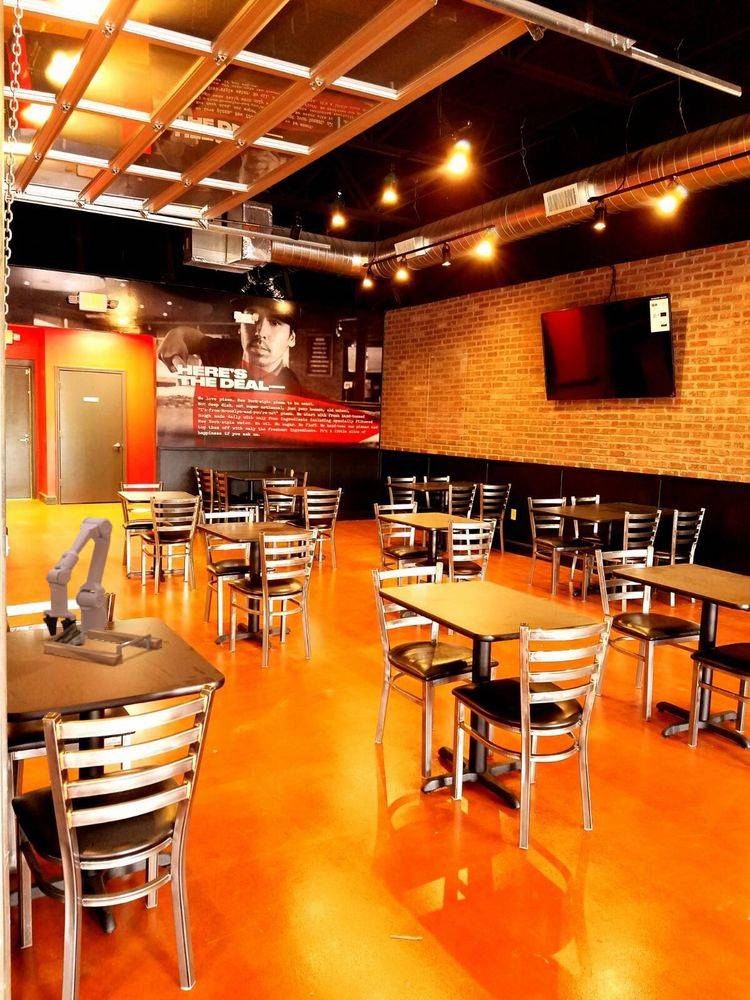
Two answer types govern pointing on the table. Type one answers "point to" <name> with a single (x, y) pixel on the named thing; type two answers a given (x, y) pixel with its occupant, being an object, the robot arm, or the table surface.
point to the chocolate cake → (70, 636)
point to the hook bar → (148, 637)
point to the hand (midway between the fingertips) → (60, 636)
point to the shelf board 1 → (84, 653)
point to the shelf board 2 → (122, 637)
